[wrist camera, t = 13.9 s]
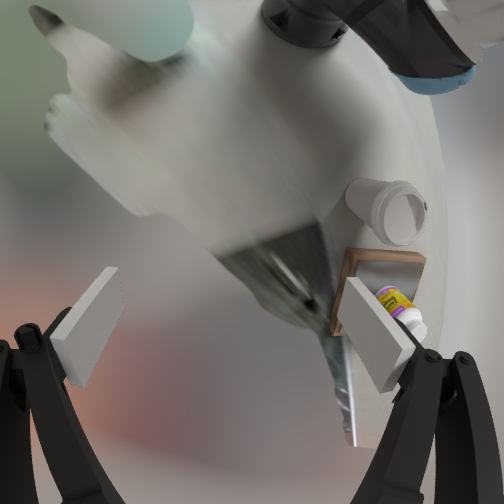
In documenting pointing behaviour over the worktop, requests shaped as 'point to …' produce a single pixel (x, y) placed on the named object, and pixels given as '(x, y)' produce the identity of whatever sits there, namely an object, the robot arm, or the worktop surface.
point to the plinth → (379, 275)
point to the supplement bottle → (402, 310)
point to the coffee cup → (389, 209)
